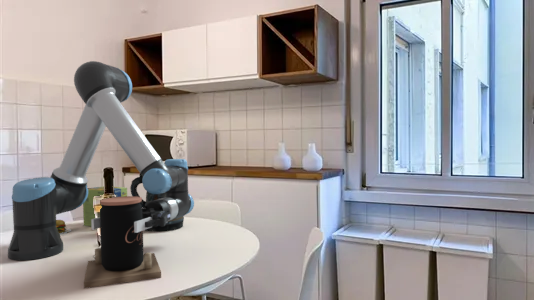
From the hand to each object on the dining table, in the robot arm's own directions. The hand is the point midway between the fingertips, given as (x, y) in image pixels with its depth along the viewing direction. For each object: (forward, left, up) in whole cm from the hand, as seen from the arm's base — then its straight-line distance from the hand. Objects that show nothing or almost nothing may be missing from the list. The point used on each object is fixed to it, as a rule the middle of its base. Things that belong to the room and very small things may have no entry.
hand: (113, 225), depth 103 cm
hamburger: (-20, +62, -14) cm, 67 cm away
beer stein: (+17, +52, -13) cm, 57 cm away
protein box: (-3, +68, -13) cm, 70 cm away
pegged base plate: (+2, +2, -13) cm, 13 cm away
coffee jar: (+2, +2, -12) cm, 12 cm away
